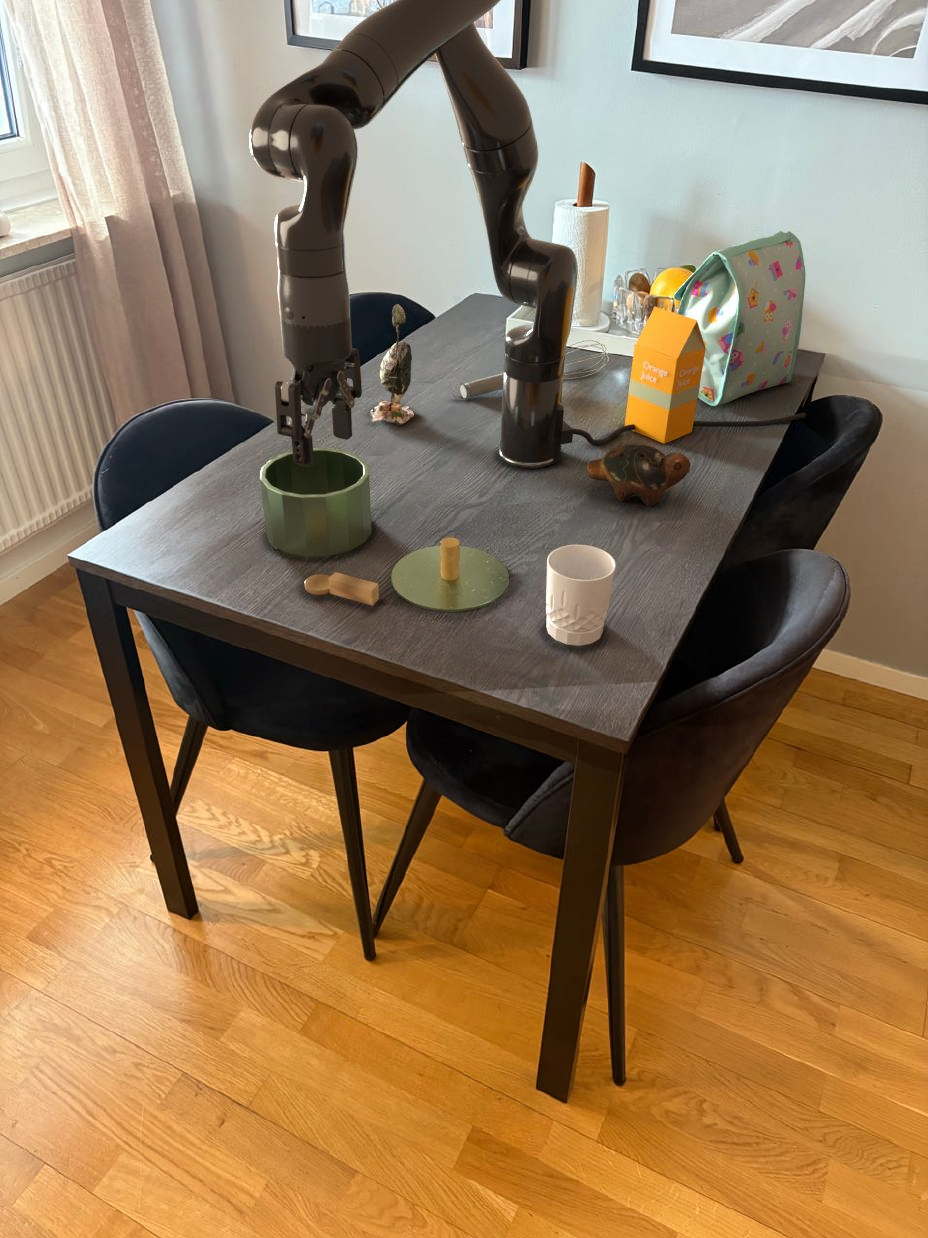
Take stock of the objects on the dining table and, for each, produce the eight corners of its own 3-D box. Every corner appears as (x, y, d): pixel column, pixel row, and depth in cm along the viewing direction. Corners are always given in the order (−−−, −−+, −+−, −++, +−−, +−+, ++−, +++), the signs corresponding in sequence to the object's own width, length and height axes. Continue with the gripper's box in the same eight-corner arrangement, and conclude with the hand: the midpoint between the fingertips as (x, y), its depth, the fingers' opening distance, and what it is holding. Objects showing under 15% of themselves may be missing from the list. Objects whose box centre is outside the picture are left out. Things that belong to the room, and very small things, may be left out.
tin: (370, 506, 140) (367, 446, 135) (372, 557, 129) (370, 495, 123) (270, 509, 139) (264, 449, 133) (264, 562, 127) (256, 498, 122)
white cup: (537, 614, 119) (542, 545, 113) (599, 612, 119) (608, 543, 113) (547, 653, 112) (553, 581, 106) (613, 650, 113) (622, 579, 107)
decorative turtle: (684, 516, 139) (688, 467, 134) (581, 507, 143) (581, 459, 138) (690, 484, 147) (694, 436, 142) (592, 476, 150) (593, 429, 146)
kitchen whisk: (444, 394, 175) (445, 361, 171) (594, 365, 189) (598, 333, 185) (461, 406, 170) (461, 372, 167) (613, 376, 184) (617, 343, 181)
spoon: (383, 597, 121) (382, 579, 119) (368, 613, 118) (367, 594, 116) (315, 579, 124) (313, 560, 123) (299, 593, 121) (297, 575, 120)
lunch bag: (730, 359, 192) (756, 218, 176) (799, 385, 182) (833, 236, 166) (652, 385, 180) (673, 236, 164) (722, 414, 170) (751, 257, 154)
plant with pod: (427, 406, 171) (426, 292, 159) (402, 430, 162) (399, 312, 150) (385, 399, 173) (381, 286, 161) (358, 423, 164) (352, 306, 152)
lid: (500, 549, 131) (502, 510, 127) (516, 613, 119) (519, 572, 115) (388, 554, 129) (387, 514, 126) (393, 619, 117) (392, 577, 114)
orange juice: (663, 444, 159) (681, 324, 148) (623, 426, 165) (637, 310, 153) (692, 431, 164) (712, 314, 152) (652, 415, 169) (669, 301, 157)
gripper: (309, 337, 96) (319, 482, 105) (378, 299, 107) (381, 434, 116) (246, 325, 98) (262, 468, 108) (320, 289, 109) (328, 422, 118)
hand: (324, 450), depth 112 cm, fingers open, 8 cm apart
